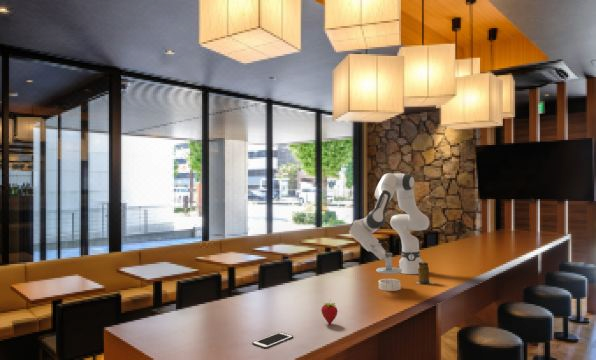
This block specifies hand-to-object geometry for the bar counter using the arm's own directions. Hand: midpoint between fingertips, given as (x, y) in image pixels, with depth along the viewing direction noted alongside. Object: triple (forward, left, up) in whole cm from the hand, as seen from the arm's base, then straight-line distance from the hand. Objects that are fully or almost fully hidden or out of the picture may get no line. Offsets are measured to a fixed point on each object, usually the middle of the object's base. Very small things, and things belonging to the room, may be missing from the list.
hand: (389, 261), depth 224 cm
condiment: (-15, +20, -15) cm, 29 cm away
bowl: (0, -1, -15) cm, 15 cm away
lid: (0, -1, -5) cm, 5 cm away
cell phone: (+88, -43, -15) cm, 99 cm away
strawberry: (+66, -25, -15) cm, 72 cm away
